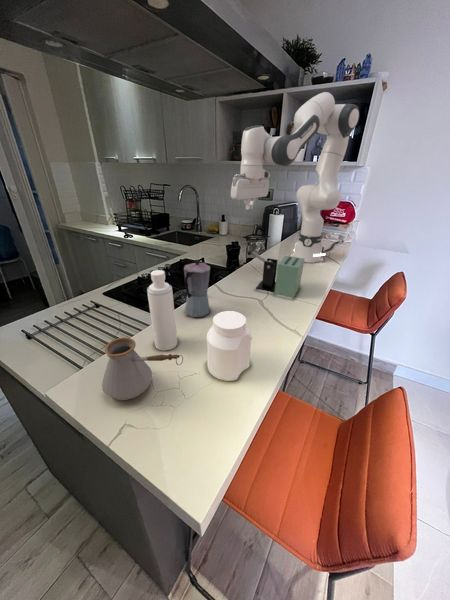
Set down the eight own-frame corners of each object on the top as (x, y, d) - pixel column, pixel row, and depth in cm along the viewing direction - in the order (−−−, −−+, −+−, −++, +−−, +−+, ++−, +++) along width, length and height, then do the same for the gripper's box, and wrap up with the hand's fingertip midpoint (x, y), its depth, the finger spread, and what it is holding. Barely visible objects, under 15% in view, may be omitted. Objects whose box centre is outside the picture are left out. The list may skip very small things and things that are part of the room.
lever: (246, 254, 108) (248, 250, 107) (250, 251, 112) (253, 247, 111) (270, 270, 107) (273, 266, 105) (273, 266, 111) (276, 262, 109)
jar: (227, 347, 77) (228, 304, 70) (254, 361, 72) (258, 316, 65) (201, 369, 69) (199, 322, 62) (230, 386, 64) (231, 337, 57)
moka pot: (216, 304, 100) (216, 255, 90) (202, 326, 87) (200, 271, 77) (193, 301, 102) (190, 252, 93) (176, 321, 89) (171, 267, 79)
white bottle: (182, 341, 79) (175, 265, 67) (166, 353, 74) (156, 273, 62) (166, 334, 82) (157, 260, 70) (150, 345, 77) (138, 267, 65)
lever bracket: (255, 290, 111) (258, 262, 105) (263, 282, 119) (265, 255, 113) (273, 294, 108) (277, 266, 102) (280, 285, 116) (283, 258, 110)
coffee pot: (93, 397, 60) (76, 347, 53) (126, 365, 70) (116, 319, 62) (172, 428, 54) (165, 376, 46) (197, 388, 63) (194, 340, 56)
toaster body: (274, 295, 107) (278, 264, 100) (281, 285, 116) (285, 255, 110) (293, 300, 104) (298, 267, 97) (299, 288, 113) (304, 258, 107)
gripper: (239, 174, 95) (238, 213, 102) (272, 173, 108) (269, 207, 114) (227, 173, 99) (226, 211, 106) (260, 172, 112) (258, 206, 118)
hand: (249, 209), depth 110 cm, fingers closed
